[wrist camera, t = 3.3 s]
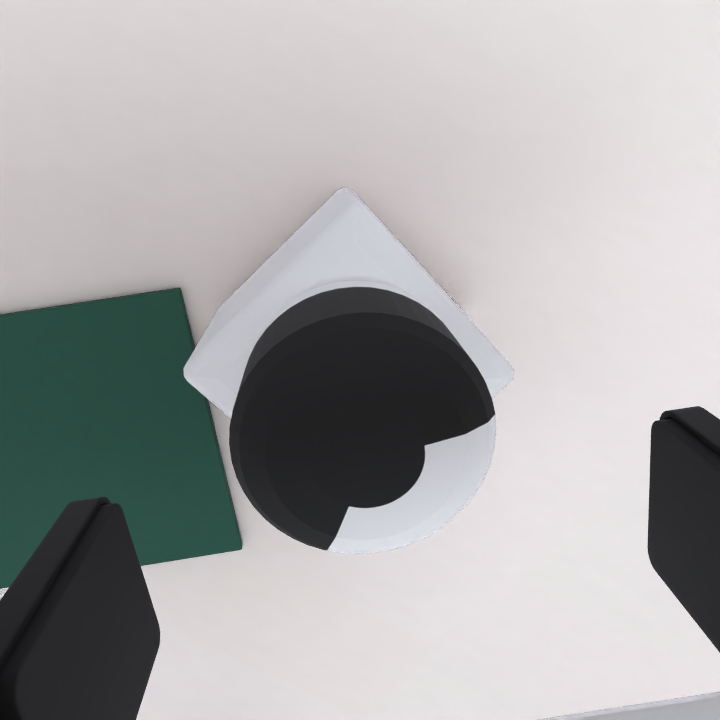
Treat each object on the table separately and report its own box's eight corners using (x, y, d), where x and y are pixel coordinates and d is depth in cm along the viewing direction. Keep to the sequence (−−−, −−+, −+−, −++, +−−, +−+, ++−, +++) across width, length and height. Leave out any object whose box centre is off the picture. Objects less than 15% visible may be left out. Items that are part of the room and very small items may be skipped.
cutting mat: (-68, 594, 27) (-74, 600, 27) (-186, 342, 23) (-194, 345, 23) (242, 544, 28) (241, 550, 27) (180, 287, 23) (178, 289, 23)
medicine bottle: (213, 311, 24) (125, 459, 13) (344, 182, 23) (377, 217, 11) (338, 427, 26) (360, 644, 15) (465, 314, 25) (595, 455, 13)
